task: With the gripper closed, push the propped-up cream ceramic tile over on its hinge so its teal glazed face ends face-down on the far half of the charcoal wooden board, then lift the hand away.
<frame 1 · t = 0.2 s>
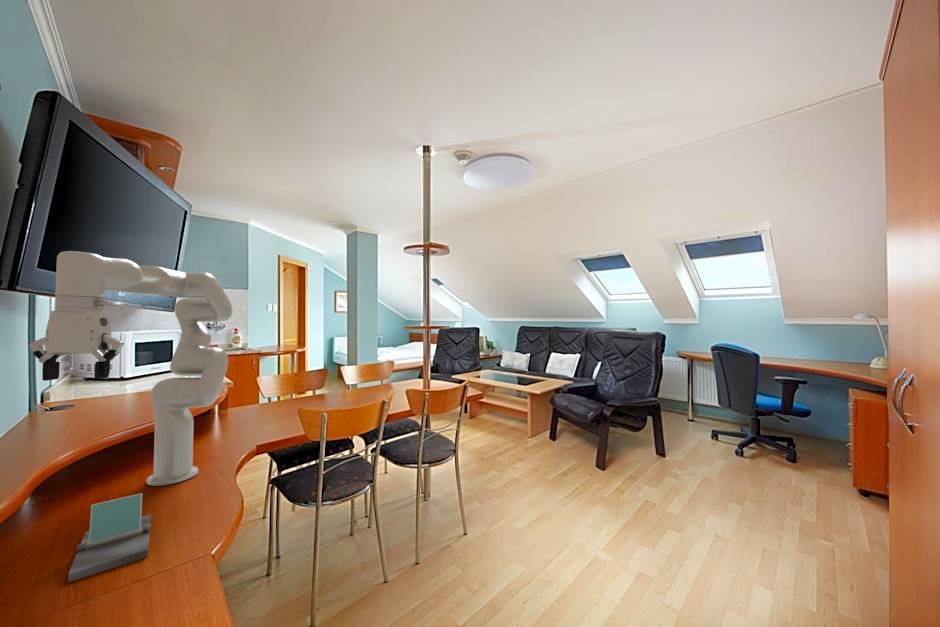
hand: (76, 379, 81), 36 cm above the countertop, tool pointing down, fingers open, 9 cm apart
tile: (116, 517, 77), point 6 cm above the countertop, hinge at 70.0°
board: (115, 547, 76), on the countertop
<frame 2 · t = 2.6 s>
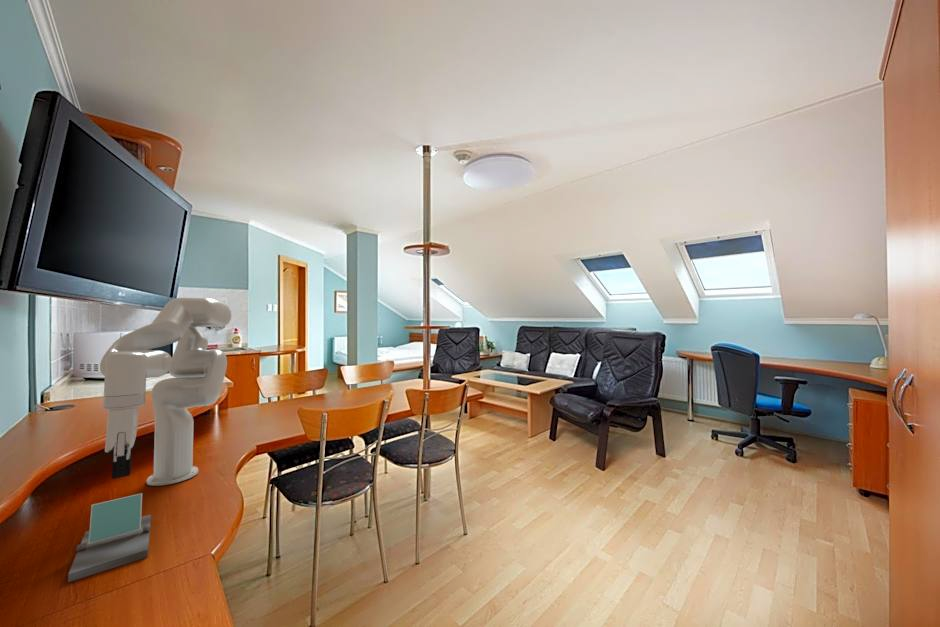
hand: (121, 476, 87), 11 cm above the countertop, tool pointing down, fingers closed
nothing on the countertop moved.
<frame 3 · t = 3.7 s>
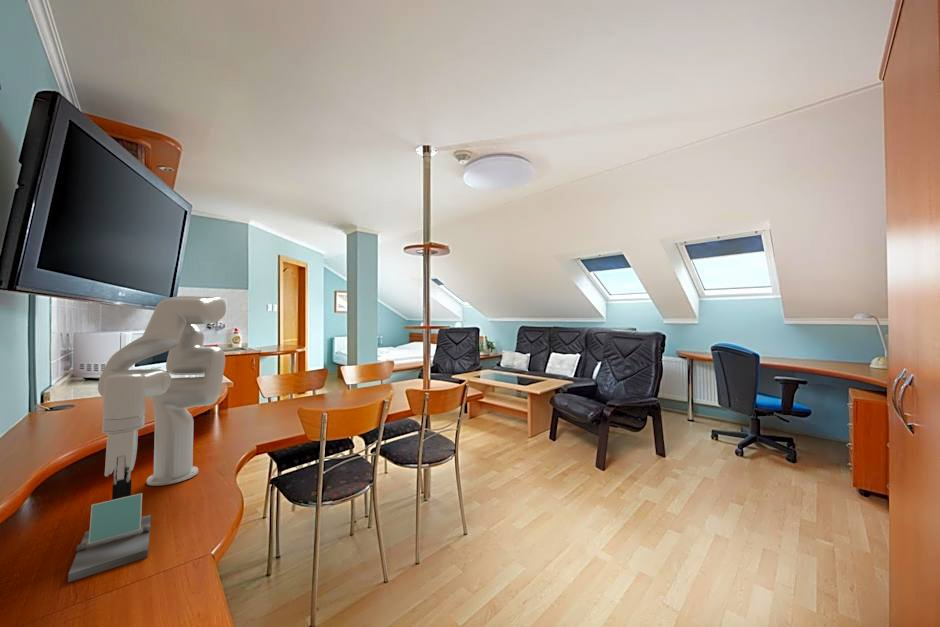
hand: (121, 498, 86), 6 cm above the countertop, tool pointing down, fingers closed
nothing on the countertop moved.
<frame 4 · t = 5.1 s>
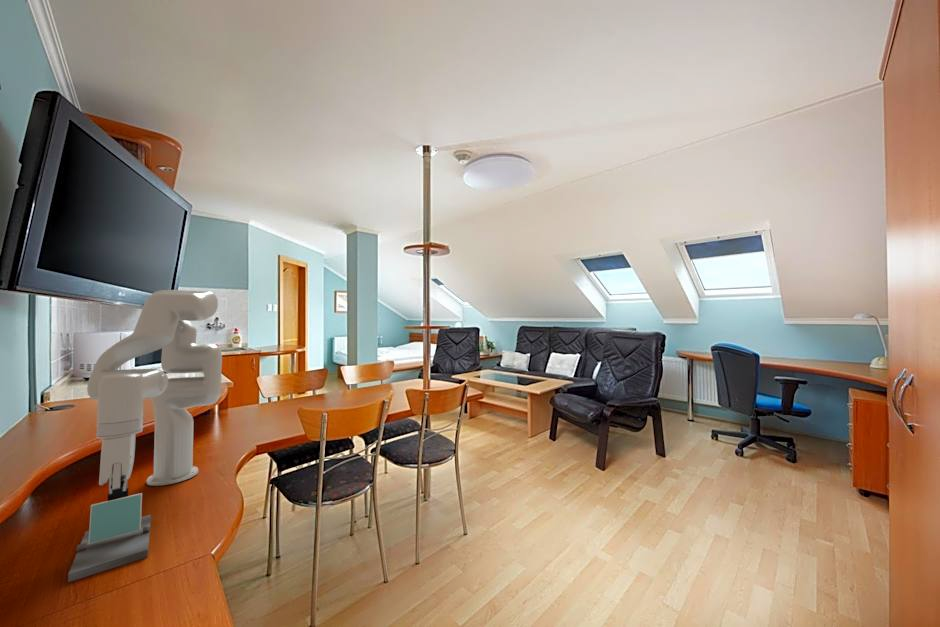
hand: (117, 508, 79), 7 cm above the countertop, tool pointing down, fingers closed
tile: (116, 517, 77), point 6 cm above the countertop, hinge at 77.0°, touching gripper
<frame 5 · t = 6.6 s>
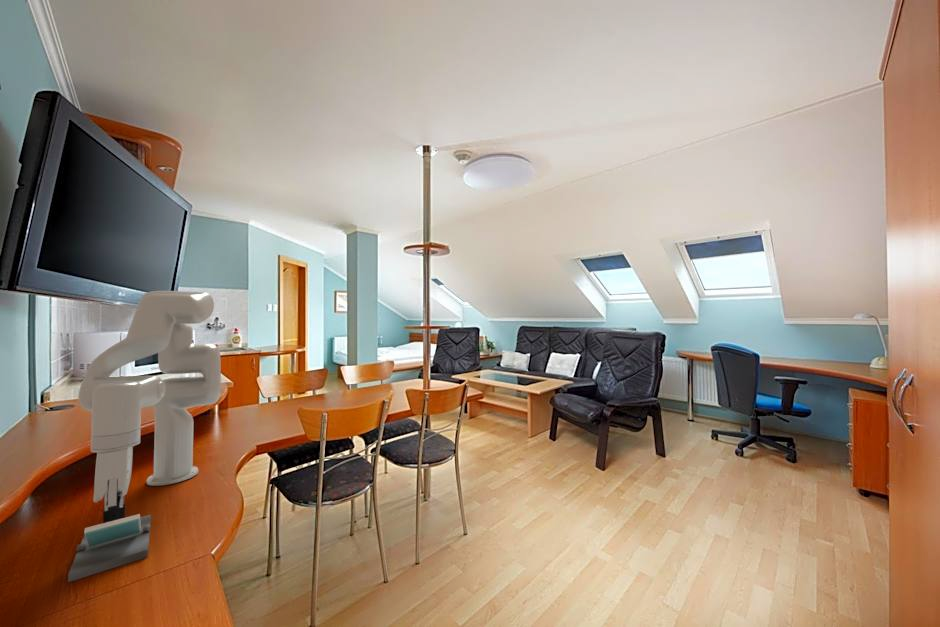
hand: (114, 525, 75), 5 cm above the countertop, tool pointing down, fingers closed
tile: (114, 530, 74), point 5 cm above the countertop, hinge at 137.0°, touching gripper
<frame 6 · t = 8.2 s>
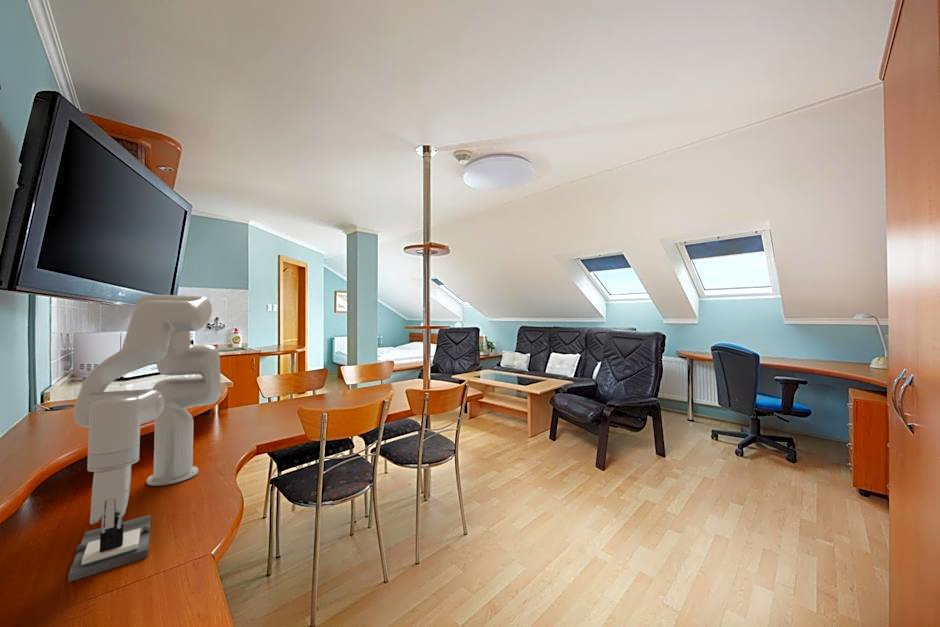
hand: (111, 548, 71), 3 cm above the countertop, tool pointing down, fingers closed
tile: (113, 545, 73), point 2 cm above the countertop, hinge at 179.1°, touching gripper
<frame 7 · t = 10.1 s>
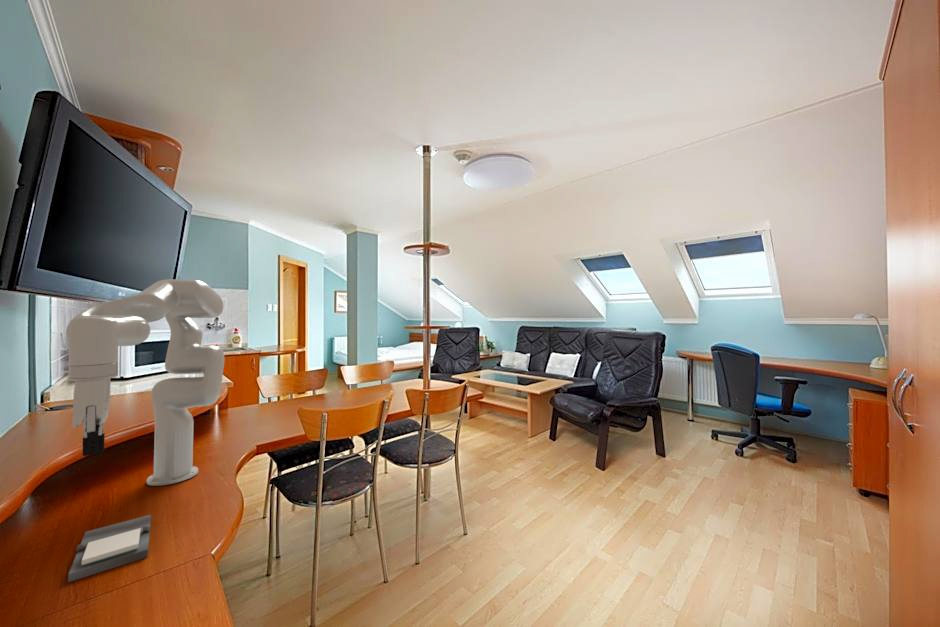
hand: (93, 453, 78), 20 cm above the countertop, tool pointing down, fingers closed
tile: (113, 545, 73), point 2 cm above the countertop, hinge at 179.4°
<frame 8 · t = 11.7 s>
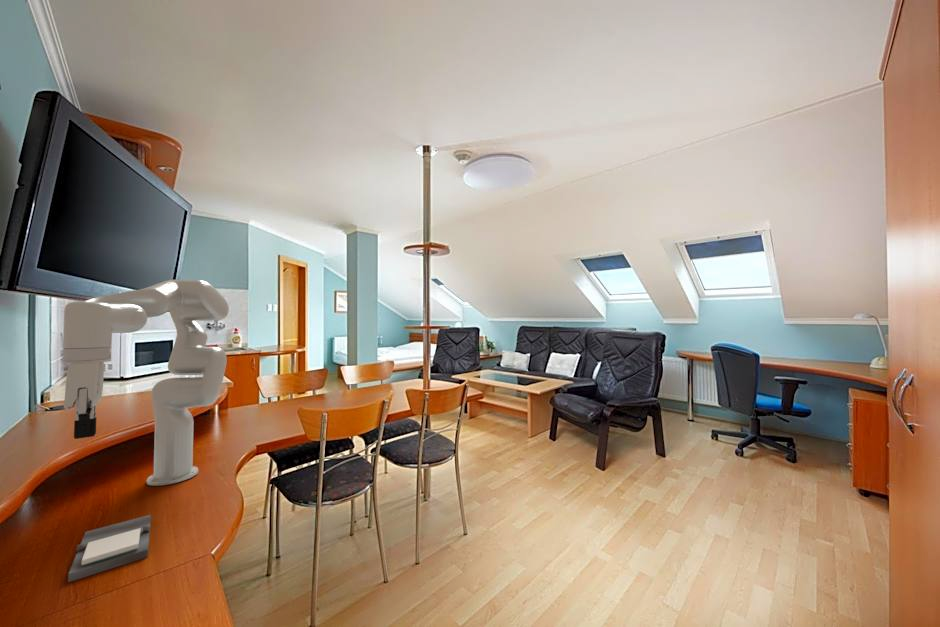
hand: (85, 436, 79), 23 cm above the countertop, tool pointing down, fingers closed
nothing on the countertop moved.
at the end: tile at +179° (first picture: +70°); the gripper is holding nothing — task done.
